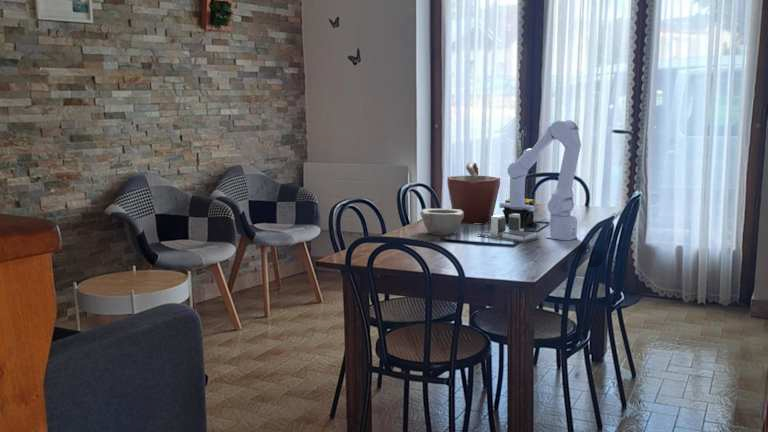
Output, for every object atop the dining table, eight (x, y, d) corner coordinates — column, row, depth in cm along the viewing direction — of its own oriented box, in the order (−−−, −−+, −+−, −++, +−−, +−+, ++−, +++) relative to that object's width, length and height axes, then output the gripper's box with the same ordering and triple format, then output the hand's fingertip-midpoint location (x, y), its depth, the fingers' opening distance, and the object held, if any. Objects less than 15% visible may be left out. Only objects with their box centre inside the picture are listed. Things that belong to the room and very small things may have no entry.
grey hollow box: (538, 238, 269) (539, 217, 268) (524, 242, 261) (525, 221, 260) (492, 232, 282) (492, 212, 280) (477, 236, 273) (478, 216, 272)
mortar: (463, 230, 286) (464, 207, 285) (463, 237, 270) (463, 214, 268) (422, 229, 288) (422, 207, 287) (419, 237, 272) (419, 213, 270)
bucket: (486, 227, 292) (488, 166, 288) (436, 223, 302) (437, 164, 298) (503, 218, 314) (505, 161, 310) (456, 214, 324) (457, 159, 320)
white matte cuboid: (512, 230, 285) (512, 213, 284) (523, 231, 282) (524, 214, 281) (507, 231, 282) (508, 214, 281) (518, 233, 279) (519, 215, 278)
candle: (503, 223, 300) (504, 200, 299) (510, 220, 309) (511, 197, 308) (527, 225, 296) (527, 202, 294) (533, 222, 305) (534, 199, 303)
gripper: (538, 193, 278) (537, 228, 281) (505, 190, 287) (505, 224, 290) (530, 195, 273) (529, 230, 275) (497, 192, 282) (496, 226, 284)
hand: (516, 227), depth 282 cm, fingers closed on white matte cuboid, 5 cm apart
